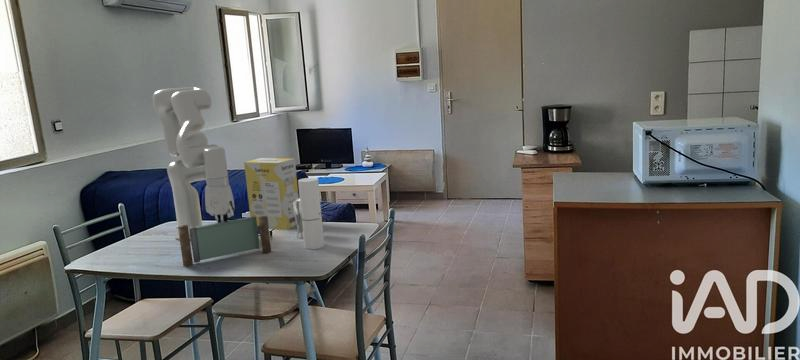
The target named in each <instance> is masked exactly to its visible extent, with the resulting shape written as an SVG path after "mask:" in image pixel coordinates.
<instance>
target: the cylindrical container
mask: <svg viewBox="0 0 800 360" xmlns="http://www.w3.org/2000/svg"><path fill="white" fill-rule="evenodd" d="M319 183H320V182H319V178H317V177H305V178H299V179H298V180H297V185H298V195H299V198H300V205H301V215H302V225H303V235H304V239H303V243H304V248H305V249H306V250H318V249H321V248H324V246H325V238H324V227H323V217H322V207H321V206H322V205H321V196H320V185H319Z"/></svg>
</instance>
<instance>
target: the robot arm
mask: <svg viewBox="0 0 800 360" xmlns="http://www.w3.org/2000/svg"><path fill="white" fill-rule="evenodd" d="M212 102H213V101H212V98H211V95H210V94H209V92H208V91H207V90H206V89H203V88H200V87H196V86H189V87H186V86H185V87H174V88H173V87H172V88H169V87H168V88H163V89H158V90H157V91H155V92H154V93H153V94H152V105H153V108H154V112H155V113H156V115H157V117H158V119H159V121H160V123H161V127H162V131H163V132H162V133H163V135H164V141H165V145H166V150H167V152H168V154H169V156H171V157H175V158H179V157H180V159H178V160H175V161H172V162H170V163H169V164H168V166H167V168H166V172H167V176H168V180H169V182H170V186H171V191H172V196H173V204H174V208H175V209H174V211H175V218H176V223H177V225H176V226H175V229H177V230H178V226H180V225H188V231H189V238H190V240H191V237H190V229H189V228H190V227H197V226H203V219H202V212H201V205H200V196H199V192H198V190H197V189H196V188H195V187H194V186H193V185H192V184H191V183H194V182H200V181H205V182H206V186H205V188H204V199H205V200H204V201H205V202H204V203H205V211H206V213H208V214H209V215H210V216H213V217H214V219H215V222H216V223H219V222H225V221H230V220H229V219H230V218H231V217H234V216H235V214H234V211H235V209H236V208H235V200H234V195H233V191H232V188H231V185H230V180H229V170H228V163H227V154H226V149H225V148H224V147H223V146H219V145H218V144H215V143H214V144H209V140H208V139H207V136H206V134H205V133H204V132H203V131H201V130H203V128H204V127H205V126H206V125H205V124H206V122H205V118H204V116H203V115H202V113H201V112H206V111H207V112H208V111H209V110H211V108H212V105H213V103H212ZM174 238H175V239H176V240H179V241H180V239H179V232H177V233H175V235H174Z"/></svg>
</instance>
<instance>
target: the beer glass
mask: <svg viewBox="0 0 800 360" xmlns="http://www.w3.org/2000/svg"><path fill="white" fill-rule="evenodd" d="M293 211H294V217H295V220H296V224H297V225H296V227H297V231H296V232H297V235H296V237H297V239H301V240H304V235H303V225H302V215H301V205H300V197H299V198H296V199H294V200H293Z"/></svg>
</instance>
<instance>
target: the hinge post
mask: <svg viewBox="0 0 800 360" xmlns="http://www.w3.org/2000/svg"><path fill="white" fill-rule="evenodd" d="M177 226H178V225H177ZM177 231H178V232H177V233H179V239H180V240H179V245H180V252H181V253H180V254H181V258H182V266H183V267H190V266H191V267H192V266H193V265H194V259H193V252H192V245H191V239H190V238H189V231H188V225H180V226H178V229H177Z"/></svg>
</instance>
